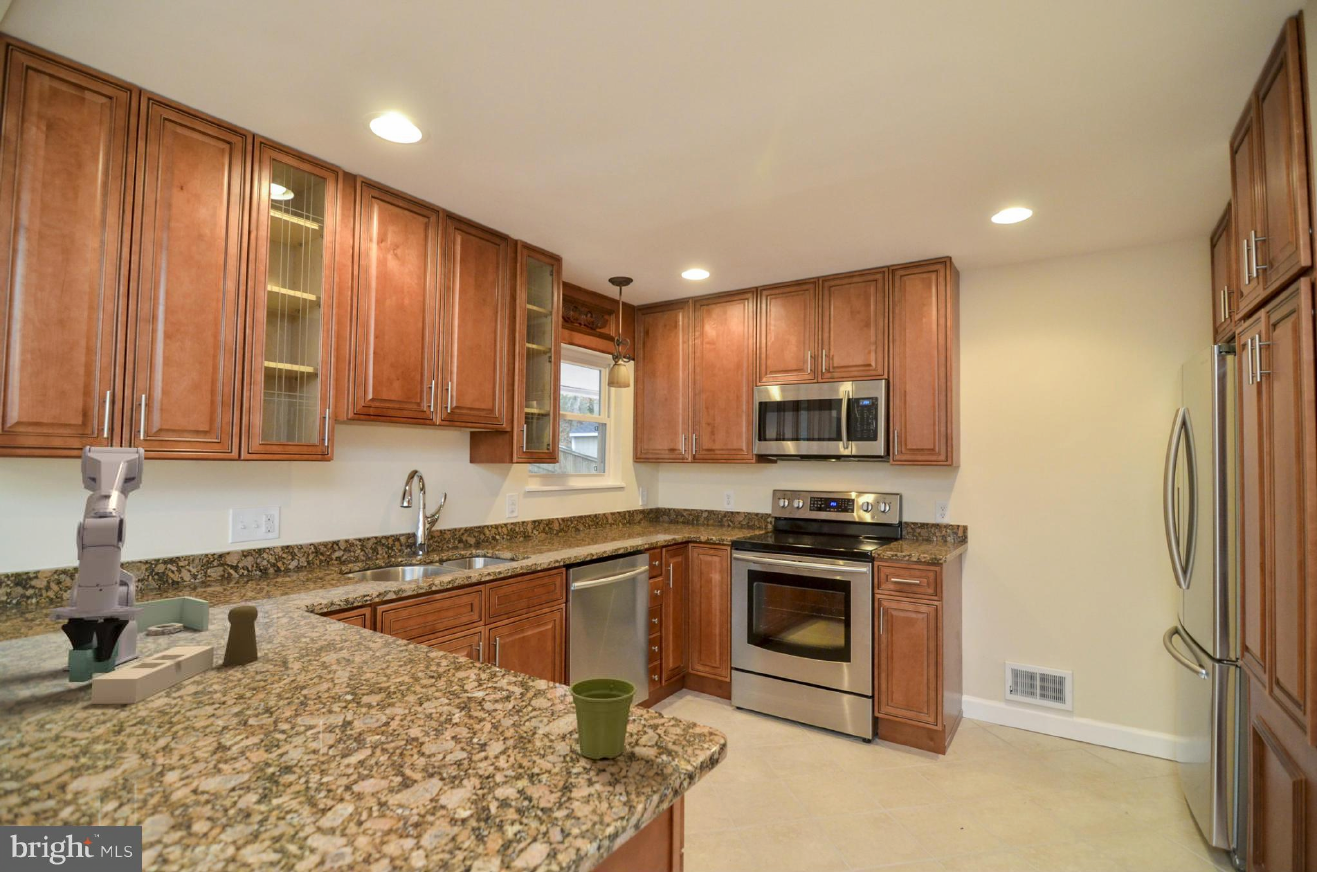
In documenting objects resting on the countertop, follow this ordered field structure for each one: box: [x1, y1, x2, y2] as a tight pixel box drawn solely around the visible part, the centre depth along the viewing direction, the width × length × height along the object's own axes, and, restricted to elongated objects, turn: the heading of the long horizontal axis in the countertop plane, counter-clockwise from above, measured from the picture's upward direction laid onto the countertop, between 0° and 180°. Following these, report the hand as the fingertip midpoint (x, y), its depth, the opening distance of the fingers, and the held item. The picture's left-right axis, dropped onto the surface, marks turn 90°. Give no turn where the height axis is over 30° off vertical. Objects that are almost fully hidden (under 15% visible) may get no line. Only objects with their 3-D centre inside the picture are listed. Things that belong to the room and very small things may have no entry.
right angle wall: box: [134, 595, 210, 637], centre depth 152 cm, size 12×12×8 cm
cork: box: [222, 605, 259, 666], centre depth 129 cm, size 6×6×11 cm
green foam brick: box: [67, 640, 119, 683], centre depth 113 cm, size 7×3×6 cm, turn 3°
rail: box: [90, 645, 215, 705], centre depth 115 cm, size 20×7×4 cm, turn 3°
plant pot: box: [568, 677, 637, 760], centre depth 89 cm, size 9×9×9 cm
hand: (93, 660), depth 113 cm, fingers closed on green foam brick, 3 cm apart
